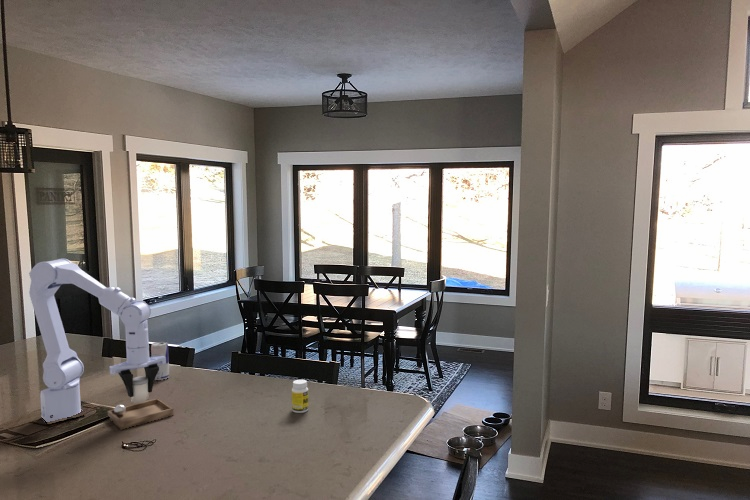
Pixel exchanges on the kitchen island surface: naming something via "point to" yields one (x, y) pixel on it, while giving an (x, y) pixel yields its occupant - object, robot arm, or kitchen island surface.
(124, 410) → the steel ball
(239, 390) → the kitchen island surface
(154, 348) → the energy drink
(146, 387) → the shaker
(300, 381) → the supplement bottle
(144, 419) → the tray
